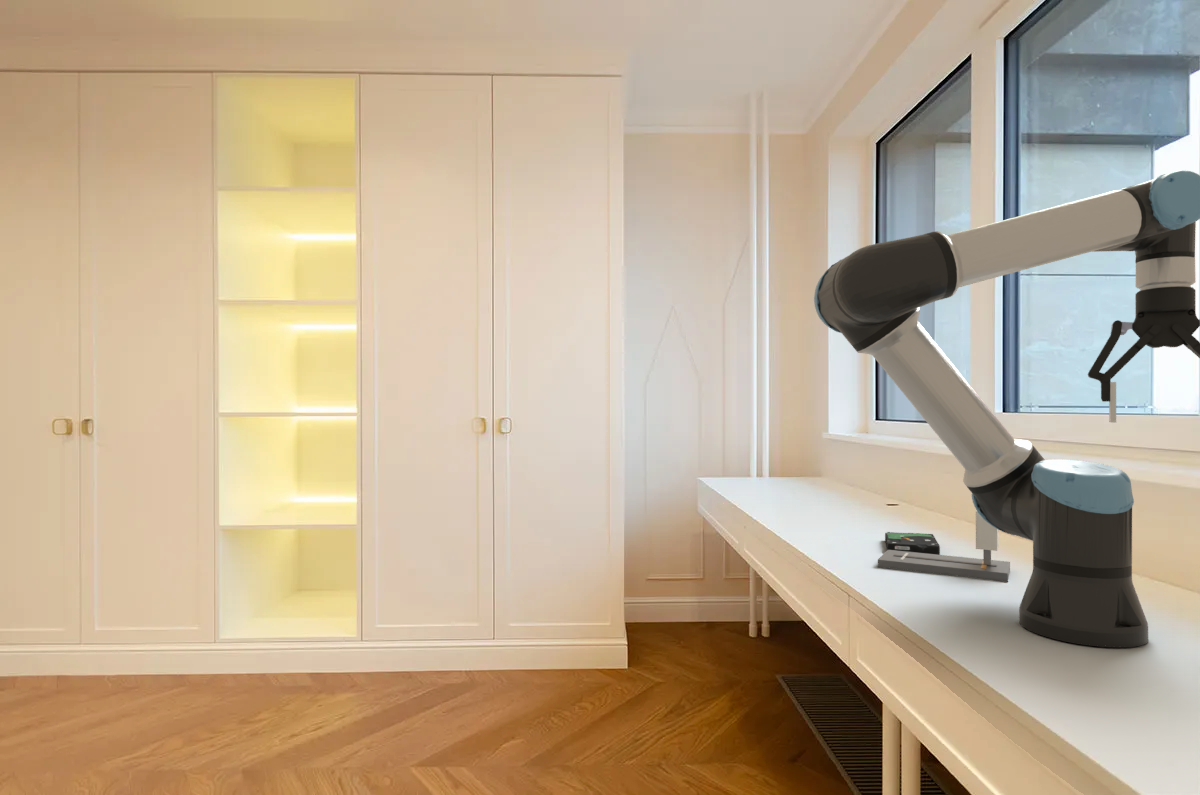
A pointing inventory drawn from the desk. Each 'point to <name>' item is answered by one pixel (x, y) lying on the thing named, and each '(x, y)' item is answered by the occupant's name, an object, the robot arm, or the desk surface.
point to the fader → (986, 538)
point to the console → (945, 565)
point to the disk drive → (912, 542)
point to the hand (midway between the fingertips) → (1165, 423)
